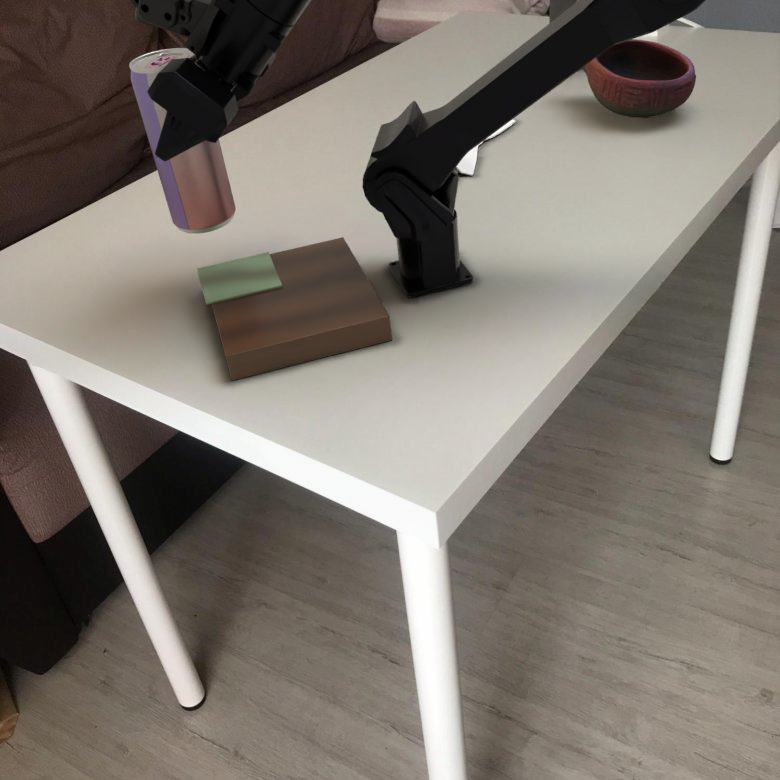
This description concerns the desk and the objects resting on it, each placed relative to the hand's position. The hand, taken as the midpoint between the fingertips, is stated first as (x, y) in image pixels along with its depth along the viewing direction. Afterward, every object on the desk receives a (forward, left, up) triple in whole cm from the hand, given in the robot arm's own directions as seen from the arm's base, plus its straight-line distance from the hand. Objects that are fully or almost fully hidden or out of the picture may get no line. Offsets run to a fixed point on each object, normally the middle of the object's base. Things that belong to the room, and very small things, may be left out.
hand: (171, 144), depth 77 cm
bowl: (+19, -56, -14) cm, 61 cm away
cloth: (+21, -32, -14) cm, 41 cm away
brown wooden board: (-10, -7, -14) cm, 19 cm away
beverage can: (-1, -1, -8) cm, 8 cm away
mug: (+40, -60, -14) cm, 74 cm away
